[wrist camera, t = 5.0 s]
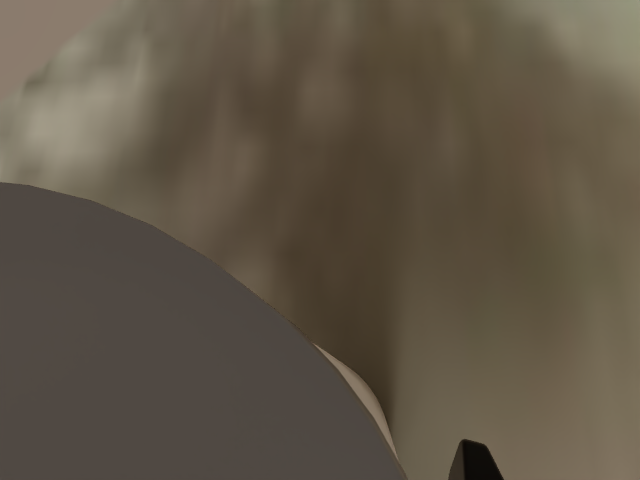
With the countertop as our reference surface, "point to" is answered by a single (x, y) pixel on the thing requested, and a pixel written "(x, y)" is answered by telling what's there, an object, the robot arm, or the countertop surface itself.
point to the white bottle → (160, 362)
